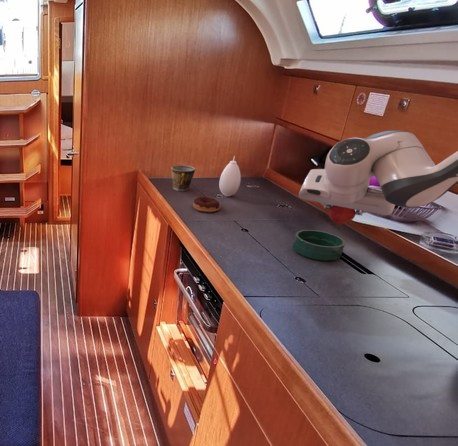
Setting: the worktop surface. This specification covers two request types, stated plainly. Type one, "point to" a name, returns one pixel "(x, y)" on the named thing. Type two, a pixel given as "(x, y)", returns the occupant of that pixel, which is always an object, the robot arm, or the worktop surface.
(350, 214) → the red pomegranate
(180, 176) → the ceramic cup
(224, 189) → the white tall oval
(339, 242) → the bowl
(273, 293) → the worktop surface
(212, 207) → the donut
